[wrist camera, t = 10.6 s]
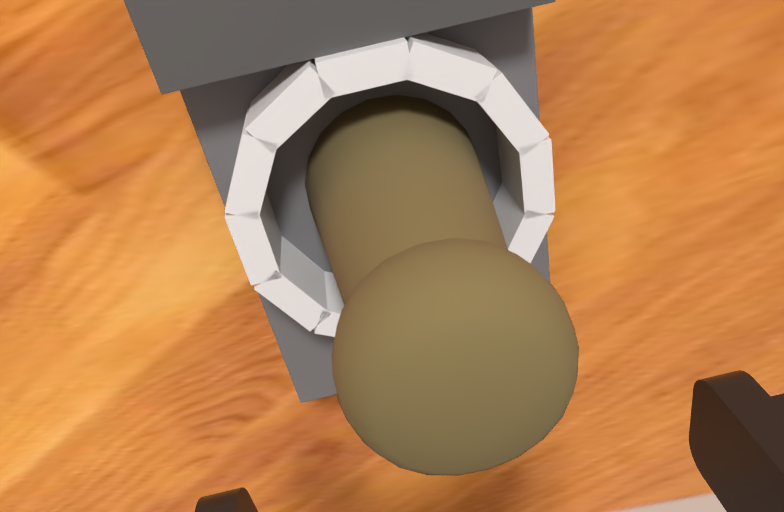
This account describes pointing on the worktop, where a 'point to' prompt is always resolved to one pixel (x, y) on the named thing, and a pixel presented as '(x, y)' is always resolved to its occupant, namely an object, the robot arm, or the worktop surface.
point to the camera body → (323, 104)
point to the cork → (433, 296)
